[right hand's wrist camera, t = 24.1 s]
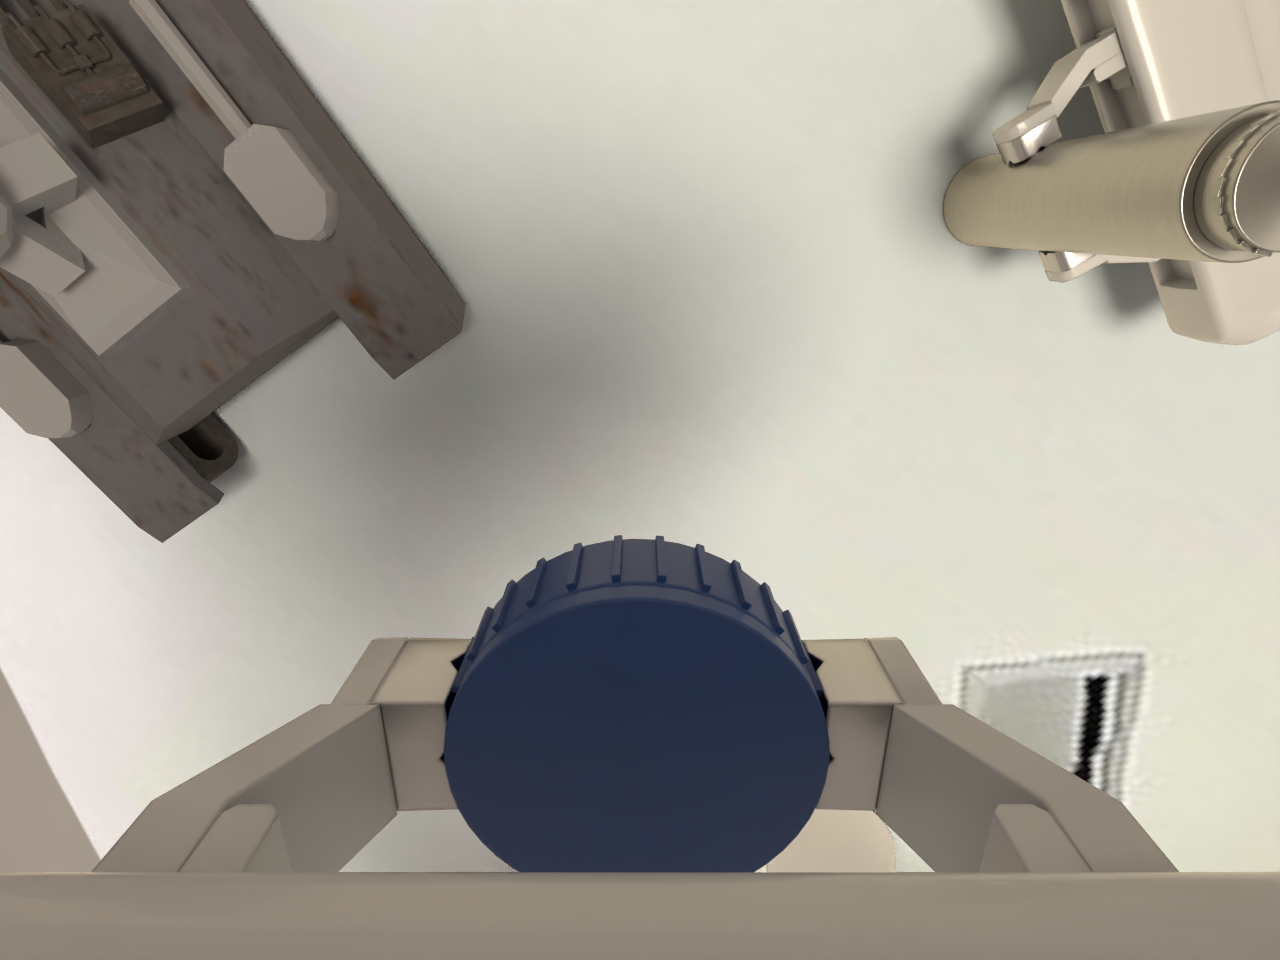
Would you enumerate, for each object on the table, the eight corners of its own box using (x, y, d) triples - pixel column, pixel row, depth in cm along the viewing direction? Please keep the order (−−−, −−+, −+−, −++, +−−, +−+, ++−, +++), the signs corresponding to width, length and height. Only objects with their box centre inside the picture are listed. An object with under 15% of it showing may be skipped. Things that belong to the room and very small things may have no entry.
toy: (484, 317, 36) (387, 376, 22) (218, 507, 40) (-6, 659, 26) (115, -189, 29) (-378, -576, 15) (-168, 105, 33) (-769, 16, 19)
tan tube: (960, 147, 34) (1271, 72, 17) (1041, 165, 34) (1423, 110, 17) (931, 236, 35) (1190, 248, 19) (1008, 253, 36) (1332, 280, 19)
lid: (749, 836, 11) (767, 935, 10) (446, 781, 11) (414, 874, 9) (853, 575, 10) (895, 642, 8) (497, 496, 9) (468, 551, 8)
